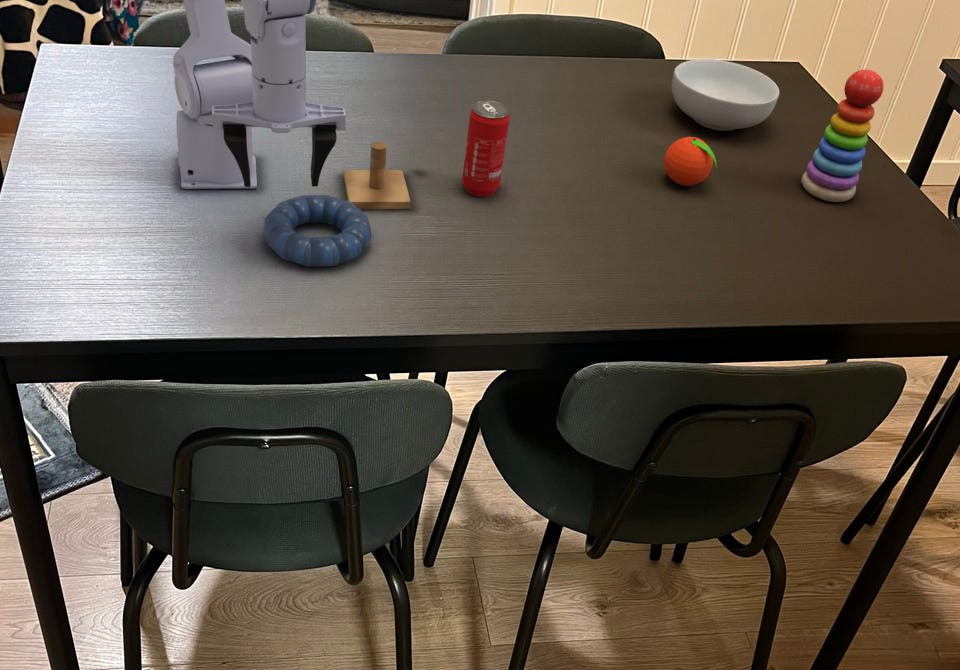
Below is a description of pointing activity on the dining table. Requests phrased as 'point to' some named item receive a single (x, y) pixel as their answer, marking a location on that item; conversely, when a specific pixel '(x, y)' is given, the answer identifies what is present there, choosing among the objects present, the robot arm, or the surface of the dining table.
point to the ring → (317, 249)
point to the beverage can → (485, 148)
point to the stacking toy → (844, 141)
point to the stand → (377, 184)
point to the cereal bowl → (723, 94)
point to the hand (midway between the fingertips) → (281, 182)
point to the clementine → (688, 161)
